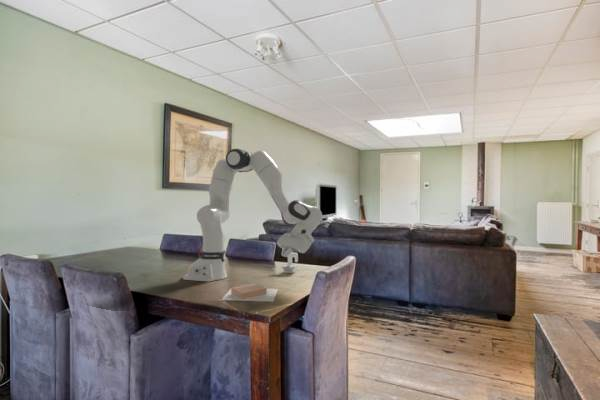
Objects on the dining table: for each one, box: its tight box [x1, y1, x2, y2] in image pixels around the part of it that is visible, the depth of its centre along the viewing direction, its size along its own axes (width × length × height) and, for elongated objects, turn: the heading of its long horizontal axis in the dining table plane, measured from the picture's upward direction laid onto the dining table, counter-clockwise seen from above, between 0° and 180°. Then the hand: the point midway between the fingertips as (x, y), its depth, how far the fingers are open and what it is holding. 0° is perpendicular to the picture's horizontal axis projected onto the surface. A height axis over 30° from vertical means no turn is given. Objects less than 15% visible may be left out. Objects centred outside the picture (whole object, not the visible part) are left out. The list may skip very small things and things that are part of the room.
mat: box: [220, 288, 279, 302], centre depth 146 cm, size 22×18×1 cm
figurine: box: [281, 248, 299, 274], centre depth 190 cm, size 7×9×15 cm
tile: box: [230, 283, 268, 300], centre depth 145 cm, size 3×10×12 cm
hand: (283, 255), depth 156 cm, fingers closed
